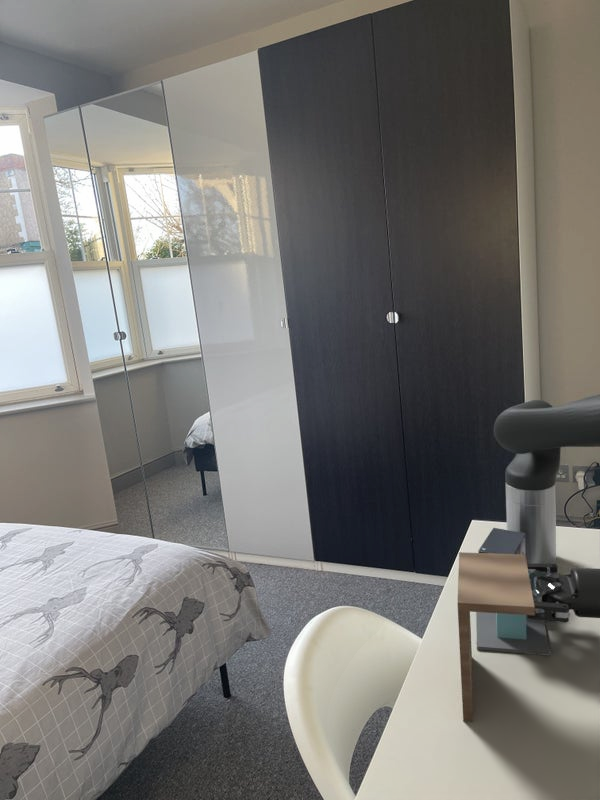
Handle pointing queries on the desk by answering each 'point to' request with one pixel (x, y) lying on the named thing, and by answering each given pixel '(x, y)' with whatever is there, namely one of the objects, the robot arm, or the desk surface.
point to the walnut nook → (488, 601)
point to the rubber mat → (530, 645)
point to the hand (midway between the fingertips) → (495, 588)
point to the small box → (504, 542)
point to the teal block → (511, 626)
